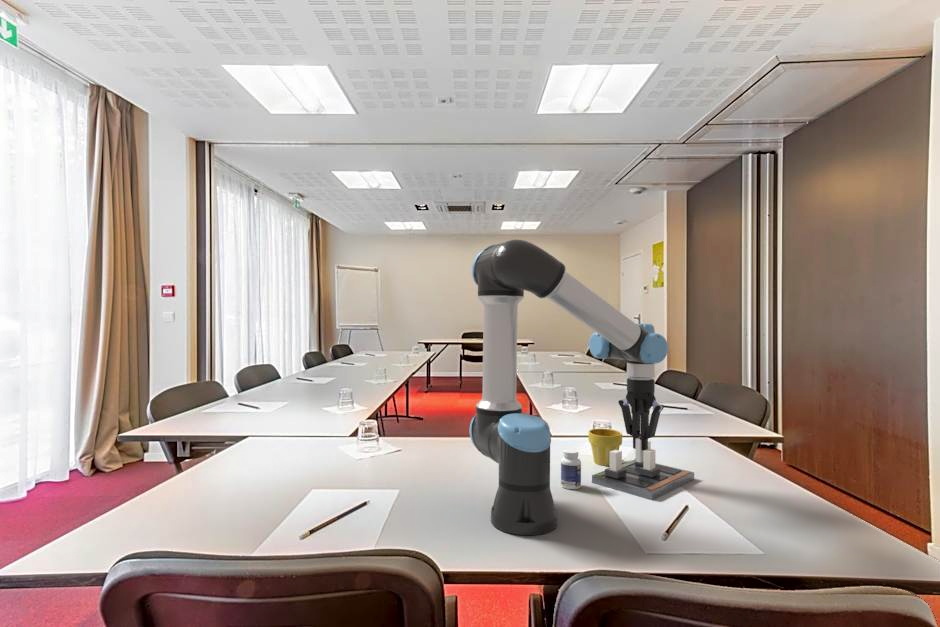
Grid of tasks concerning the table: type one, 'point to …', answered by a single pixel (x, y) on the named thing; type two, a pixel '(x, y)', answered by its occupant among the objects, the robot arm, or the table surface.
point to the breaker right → (648, 448)
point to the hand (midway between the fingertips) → (640, 460)
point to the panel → (645, 480)
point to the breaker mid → (649, 464)
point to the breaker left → (615, 465)
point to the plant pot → (604, 444)
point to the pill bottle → (570, 470)
